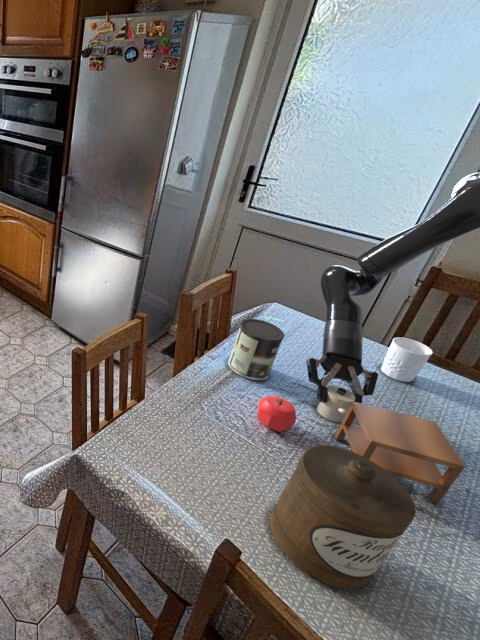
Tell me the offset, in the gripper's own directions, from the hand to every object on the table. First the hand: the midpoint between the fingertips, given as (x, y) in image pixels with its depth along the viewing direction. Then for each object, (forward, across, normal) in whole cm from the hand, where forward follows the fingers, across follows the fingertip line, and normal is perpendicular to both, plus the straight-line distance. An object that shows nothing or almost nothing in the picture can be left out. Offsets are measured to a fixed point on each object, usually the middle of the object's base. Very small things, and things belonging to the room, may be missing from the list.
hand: (338, 406), depth 102 cm
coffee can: (-6, -17, +12) cm, 22 cm away
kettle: (+3, 0, +3) cm, 4 cm away
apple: (+9, -14, -3) cm, 17 cm away
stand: (+12, +6, -6) cm, 14 cm away
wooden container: (+30, -11, -24) cm, 40 cm away
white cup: (-16, +21, +23) cm, 35 cm away
